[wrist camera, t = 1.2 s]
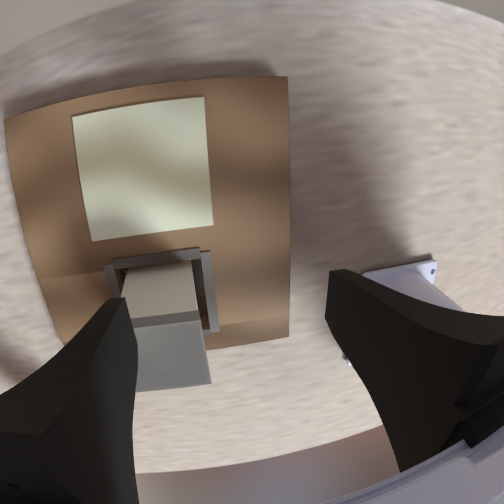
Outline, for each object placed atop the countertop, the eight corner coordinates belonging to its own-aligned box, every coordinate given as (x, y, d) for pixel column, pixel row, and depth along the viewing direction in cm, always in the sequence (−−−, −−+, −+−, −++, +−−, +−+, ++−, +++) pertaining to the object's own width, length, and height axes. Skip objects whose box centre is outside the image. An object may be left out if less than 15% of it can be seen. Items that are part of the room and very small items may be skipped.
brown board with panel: (282, 324, 24) (289, 338, 23) (76, 350, 21) (71, 365, 20) (279, 79, 17) (288, 76, 15) (15, 118, 14) (2, 119, 13)
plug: (199, 310, 22) (211, 383, 16) (140, 317, 21) (133, 392, 15) (191, 254, 20) (200, 319, 14) (127, 263, 20) (109, 330, 13)
